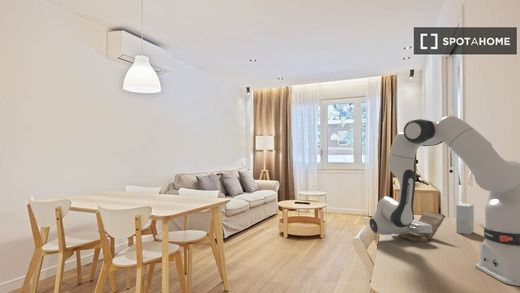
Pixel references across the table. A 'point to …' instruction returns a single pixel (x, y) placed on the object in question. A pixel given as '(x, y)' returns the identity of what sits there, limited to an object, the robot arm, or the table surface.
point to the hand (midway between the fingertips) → (425, 224)
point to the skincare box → (465, 218)
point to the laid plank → (414, 236)
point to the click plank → (431, 222)
